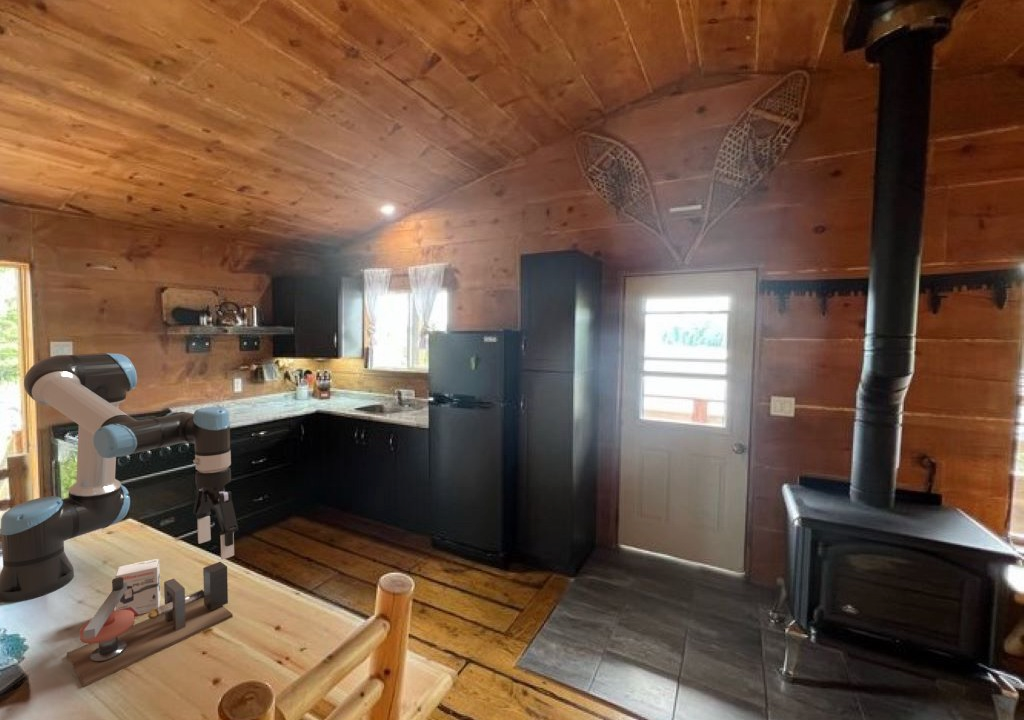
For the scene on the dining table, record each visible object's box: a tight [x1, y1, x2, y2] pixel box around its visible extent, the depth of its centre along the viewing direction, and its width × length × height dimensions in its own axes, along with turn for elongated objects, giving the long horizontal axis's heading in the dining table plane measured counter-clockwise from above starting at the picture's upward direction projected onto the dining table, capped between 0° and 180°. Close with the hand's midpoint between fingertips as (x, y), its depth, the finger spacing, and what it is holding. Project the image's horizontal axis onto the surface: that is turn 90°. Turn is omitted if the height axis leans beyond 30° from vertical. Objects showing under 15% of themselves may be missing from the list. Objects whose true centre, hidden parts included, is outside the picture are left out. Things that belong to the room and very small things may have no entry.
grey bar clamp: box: [147, 561, 229, 619], centre depth 113 cm, size 4×16×10 cm, turn 145°
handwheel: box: [79, 577, 135, 645], centre depth 100 cm, size 9×18×8 cm, turn 24°
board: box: [66, 598, 234, 687], centre depth 108 cm, size 14×28×1 cm, turn 145°
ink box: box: [114, 558, 161, 617], centre depth 116 cm, size 8×5×12 cm, turn 123°
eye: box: [163, 578, 186, 631], centre depth 111 cm, size 7×2×10 cm, turn 55°
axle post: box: [90, 637, 127, 663], centre depth 101 cm, size 6×6×5 cm
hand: (215, 549), depth 117 cm, fingers open, 13 cm apart
